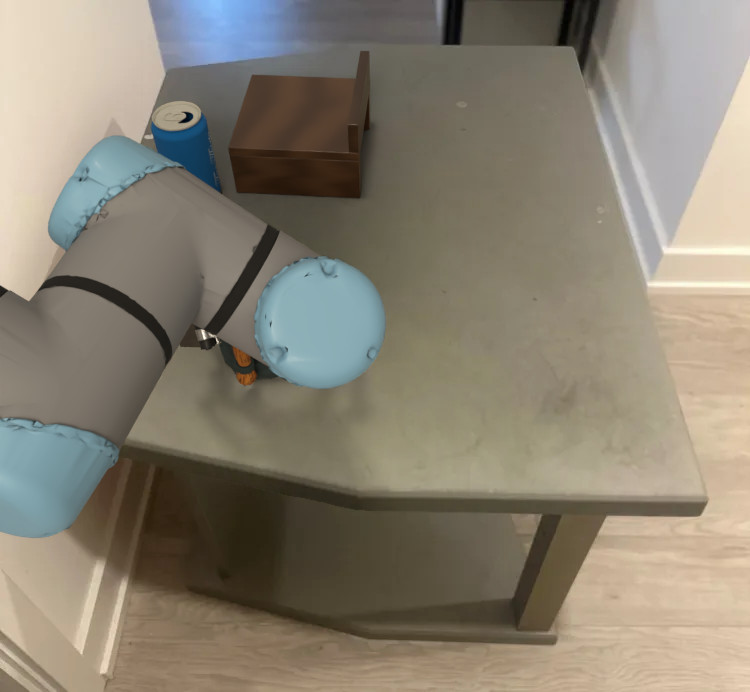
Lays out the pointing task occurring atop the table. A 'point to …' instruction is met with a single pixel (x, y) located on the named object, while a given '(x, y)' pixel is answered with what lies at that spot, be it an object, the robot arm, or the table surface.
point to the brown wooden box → (302, 134)
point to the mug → (244, 365)
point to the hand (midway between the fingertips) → (256, 306)
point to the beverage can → (186, 139)
